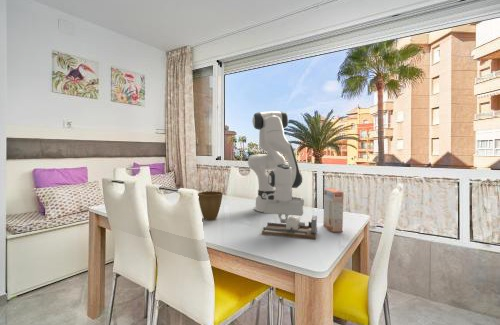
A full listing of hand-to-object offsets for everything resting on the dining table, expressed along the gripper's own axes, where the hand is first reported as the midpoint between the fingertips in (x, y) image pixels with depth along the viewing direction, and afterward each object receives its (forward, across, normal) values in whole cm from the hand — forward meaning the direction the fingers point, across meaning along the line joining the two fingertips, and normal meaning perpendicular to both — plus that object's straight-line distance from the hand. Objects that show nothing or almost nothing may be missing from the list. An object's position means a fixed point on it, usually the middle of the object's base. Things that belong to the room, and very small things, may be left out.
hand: (283, 222), depth 141 cm
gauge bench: (+5, -4, 0) cm, 6 cm away
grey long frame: (+3, -4, 0) cm, 5 cm away
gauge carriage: (+2, -6, +1) cm, 7 cm away
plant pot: (+5, +47, -12) cm, 49 cm away
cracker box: (+5, -24, -14) cm, 28 cm away
